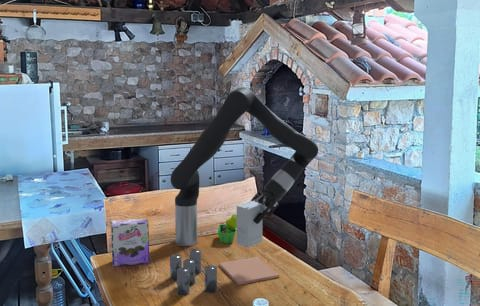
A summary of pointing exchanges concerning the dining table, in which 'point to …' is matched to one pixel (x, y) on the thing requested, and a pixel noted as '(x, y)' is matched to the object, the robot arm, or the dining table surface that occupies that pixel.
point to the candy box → (130, 242)
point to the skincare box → (248, 224)
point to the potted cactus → (228, 230)
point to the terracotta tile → (248, 270)
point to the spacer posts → (191, 272)
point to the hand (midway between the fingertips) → (250, 219)
